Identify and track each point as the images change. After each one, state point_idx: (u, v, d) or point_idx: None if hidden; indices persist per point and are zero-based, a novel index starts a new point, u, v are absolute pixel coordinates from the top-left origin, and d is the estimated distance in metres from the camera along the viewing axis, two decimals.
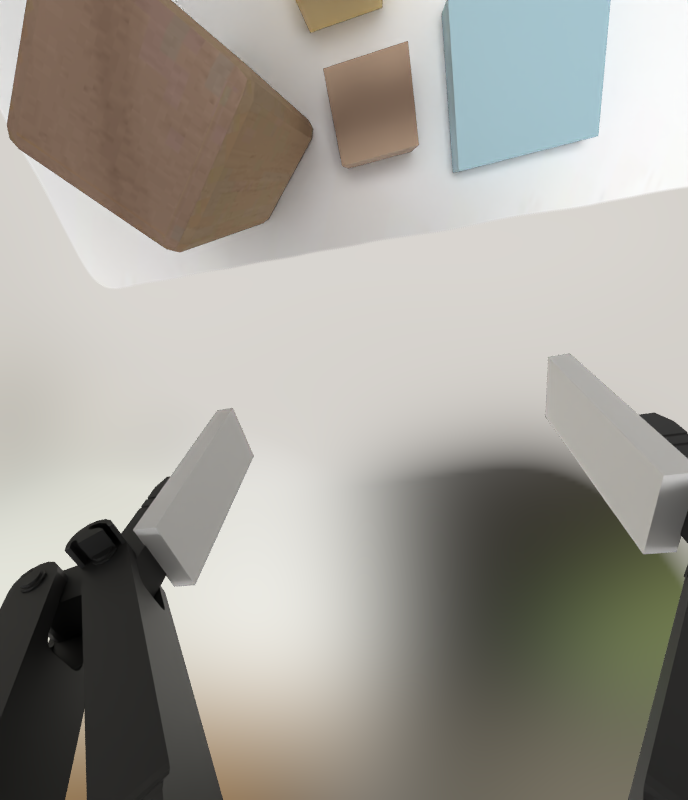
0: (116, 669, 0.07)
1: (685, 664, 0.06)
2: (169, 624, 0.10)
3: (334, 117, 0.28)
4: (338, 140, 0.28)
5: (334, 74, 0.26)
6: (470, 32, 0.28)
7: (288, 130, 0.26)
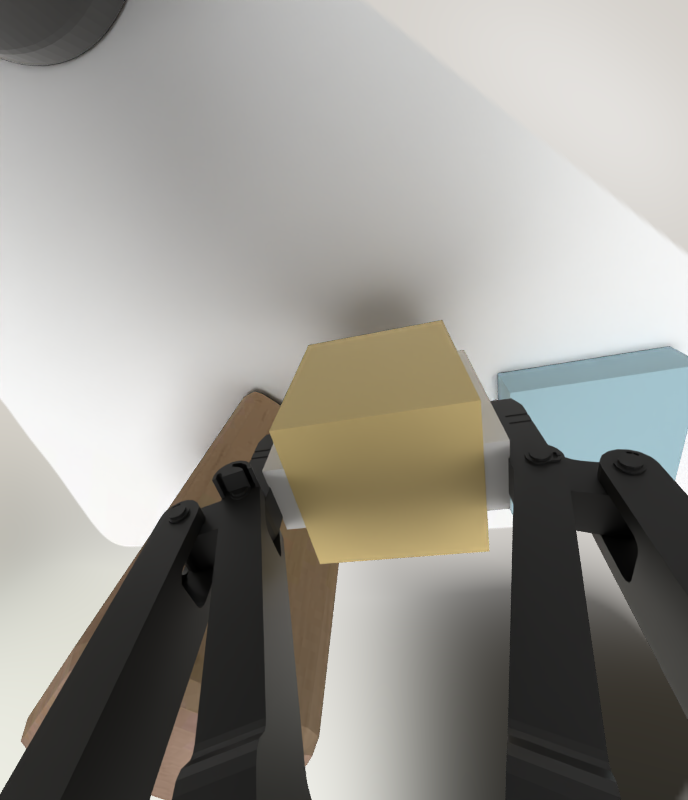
0: (235, 605, 0.08)
1: (518, 609, 0.07)
2: (283, 571, 0.11)
3: None
4: None
5: None
6: (533, 419, 0.25)
7: None
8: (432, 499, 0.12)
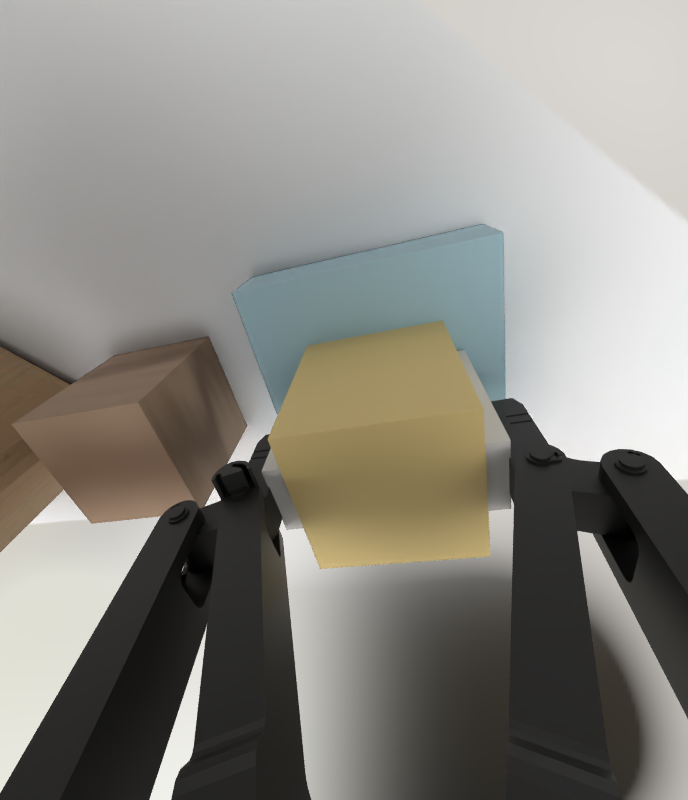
0: (235, 605, 0.08)
1: (519, 609, 0.07)
2: (282, 571, 0.11)
3: (55, 476, 0.17)
4: (73, 499, 0.17)
5: (33, 431, 0.15)
6: (281, 337, 0.17)
7: None
8: (433, 505, 0.12)
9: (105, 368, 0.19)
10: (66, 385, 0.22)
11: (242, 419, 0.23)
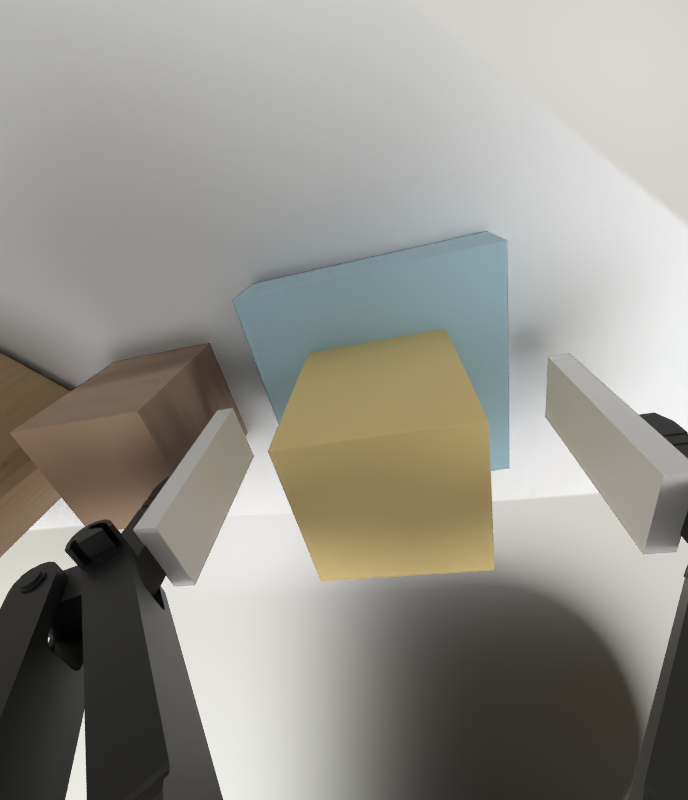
0: (116, 669, 0.07)
1: (685, 664, 0.06)
2: (169, 624, 0.10)
3: (54, 484, 0.16)
4: (71, 507, 0.17)
5: (31, 440, 0.15)
6: (281, 344, 0.16)
7: None
8: (437, 518, 0.11)
9: (105, 375, 0.19)
10: (66, 392, 0.22)
11: (243, 426, 0.22)
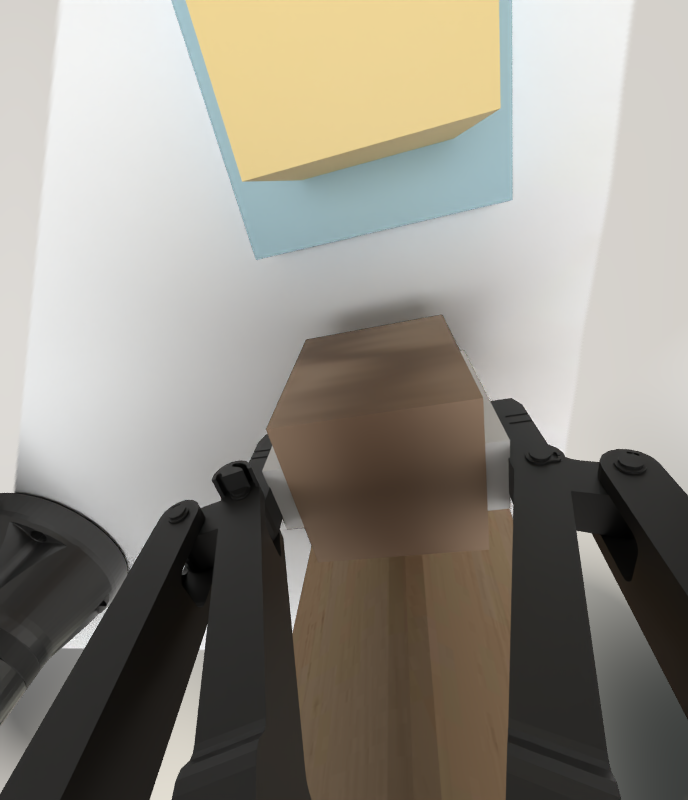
0: (235, 605, 0.08)
1: (518, 609, 0.07)
2: (283, 571, 0.11)
3: (396, 554, 0.13)
4: (438, 551, 0.13)
5: (326, 548, 0.13)
6: (294, 212, 0.16)
7: (428, 563, 0.16)
8: None
9: None
10: None
11: (427, 319, 0.15)
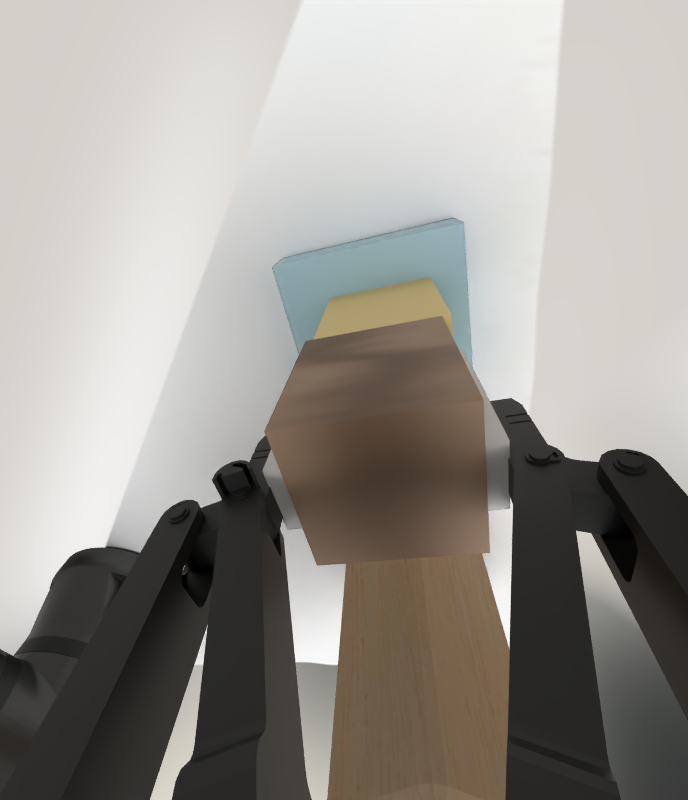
0: (236, 604, 0.08)
1: (518, 609, 0.07)
2: (283, 571, 0.11)
3: (396, 557, 0.13)
4: (438, 554, 0.13)
5: (325, 551, 0.13)
6: None
7: (429, 608, 0.26)
8: None
9: None
10: None
11: (427, 320, 0.15)
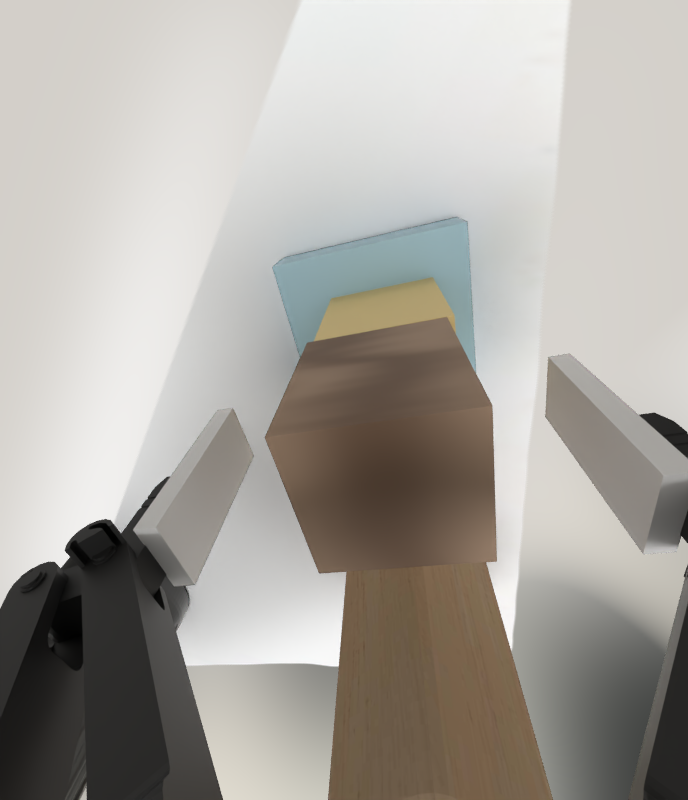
0: (116, 669, 0.07)
1: (685, 664, 0.06)
2: (169, 624, 0.10)
3: (400, 565, 0.12)
4: (444, 563, 0.12)
5: (328, 559, 0.13)
6: None
7: (431, 612, 0.26)
8: None
9: None
10: None
11: (432, 321, 0.15)
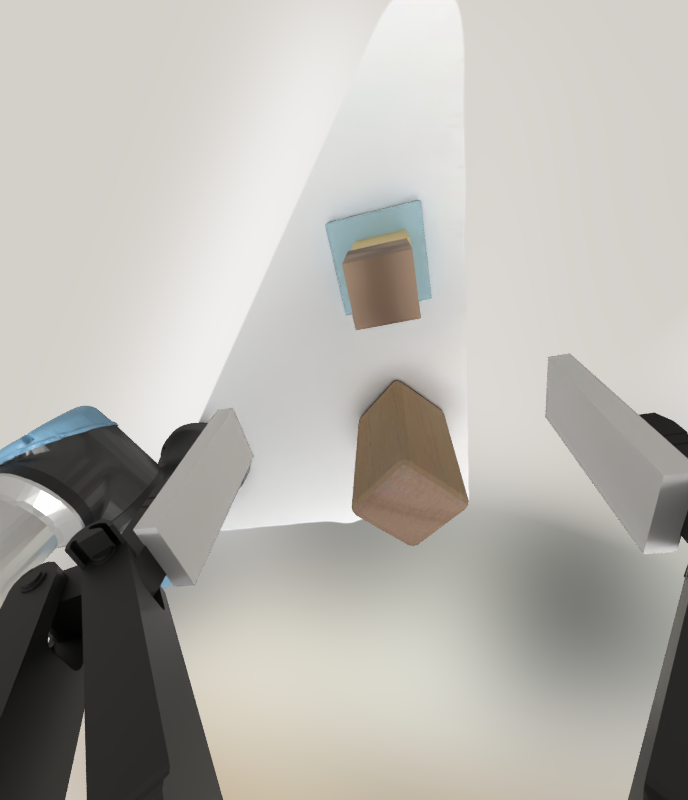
0: (116, 669, 0.07)
1: (685, 664, 0.06)
2: (169, 624, 0.10)
3: (386, 323, 0.34)
4: (402, 320, 0.34)
5: (359, 322, 0.34)
6: None
7: (407, 416, 0.47)
8: None
9: None
10: (388, 387, 0.56)
11: (400, 239, 0.36)
